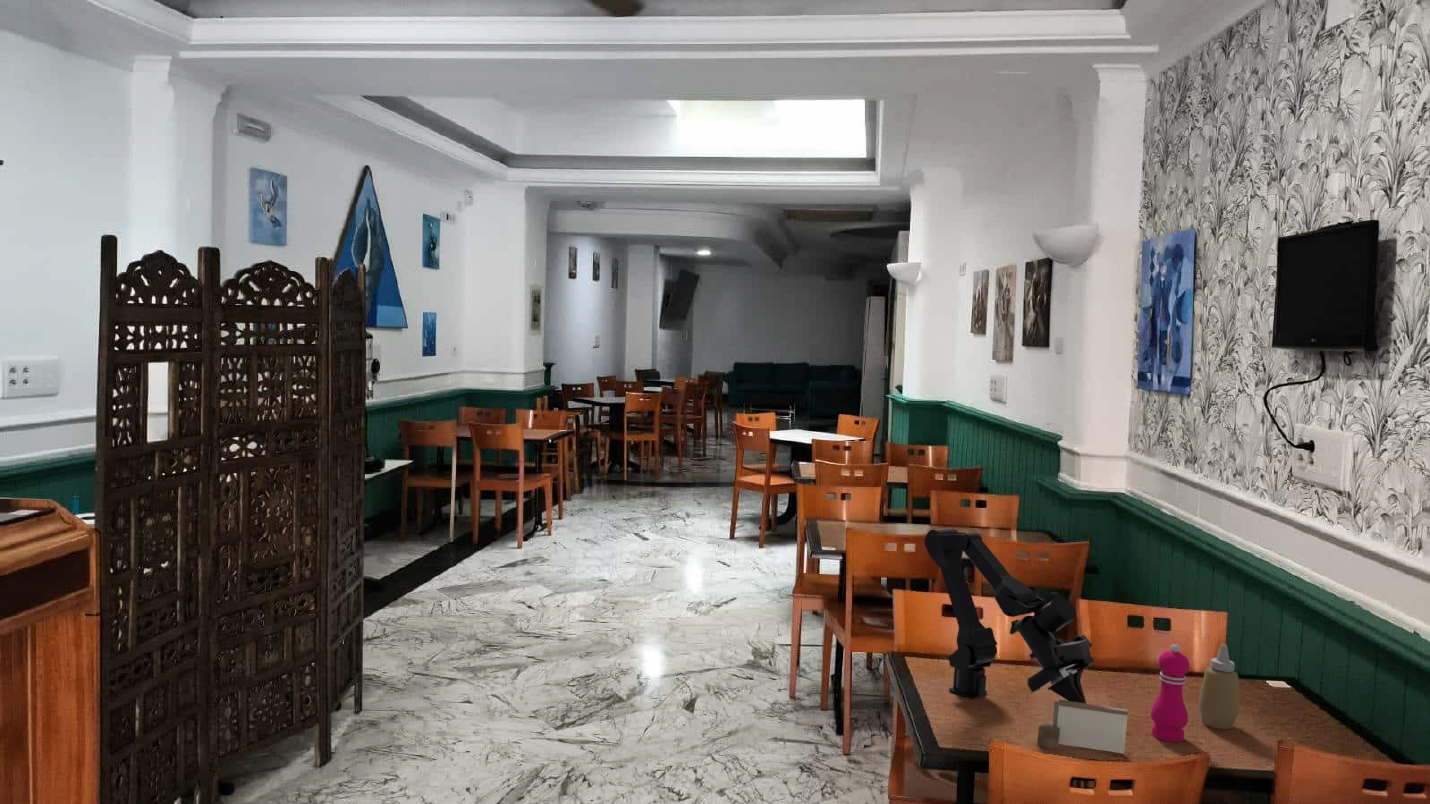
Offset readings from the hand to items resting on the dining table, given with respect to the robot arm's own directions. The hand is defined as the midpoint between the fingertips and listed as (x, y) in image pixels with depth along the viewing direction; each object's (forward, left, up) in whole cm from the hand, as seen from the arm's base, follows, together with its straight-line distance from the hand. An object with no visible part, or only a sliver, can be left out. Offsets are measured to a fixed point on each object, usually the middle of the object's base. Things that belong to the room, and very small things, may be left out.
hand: (1085, 709), depth 206 cm
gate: (+3, -4, -6) cm, 8 cm away
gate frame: (-3, -1, -6) cm, 7 cm away
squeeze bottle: (+14, +33, -7) cm, 36 cm away
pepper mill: (+10, +17, -7) cm, 21 cm away
